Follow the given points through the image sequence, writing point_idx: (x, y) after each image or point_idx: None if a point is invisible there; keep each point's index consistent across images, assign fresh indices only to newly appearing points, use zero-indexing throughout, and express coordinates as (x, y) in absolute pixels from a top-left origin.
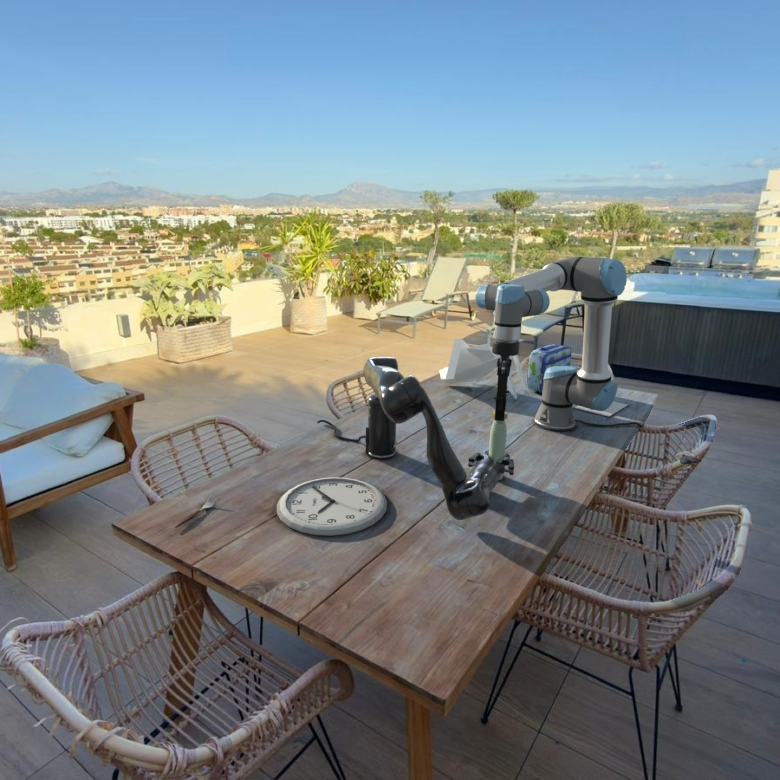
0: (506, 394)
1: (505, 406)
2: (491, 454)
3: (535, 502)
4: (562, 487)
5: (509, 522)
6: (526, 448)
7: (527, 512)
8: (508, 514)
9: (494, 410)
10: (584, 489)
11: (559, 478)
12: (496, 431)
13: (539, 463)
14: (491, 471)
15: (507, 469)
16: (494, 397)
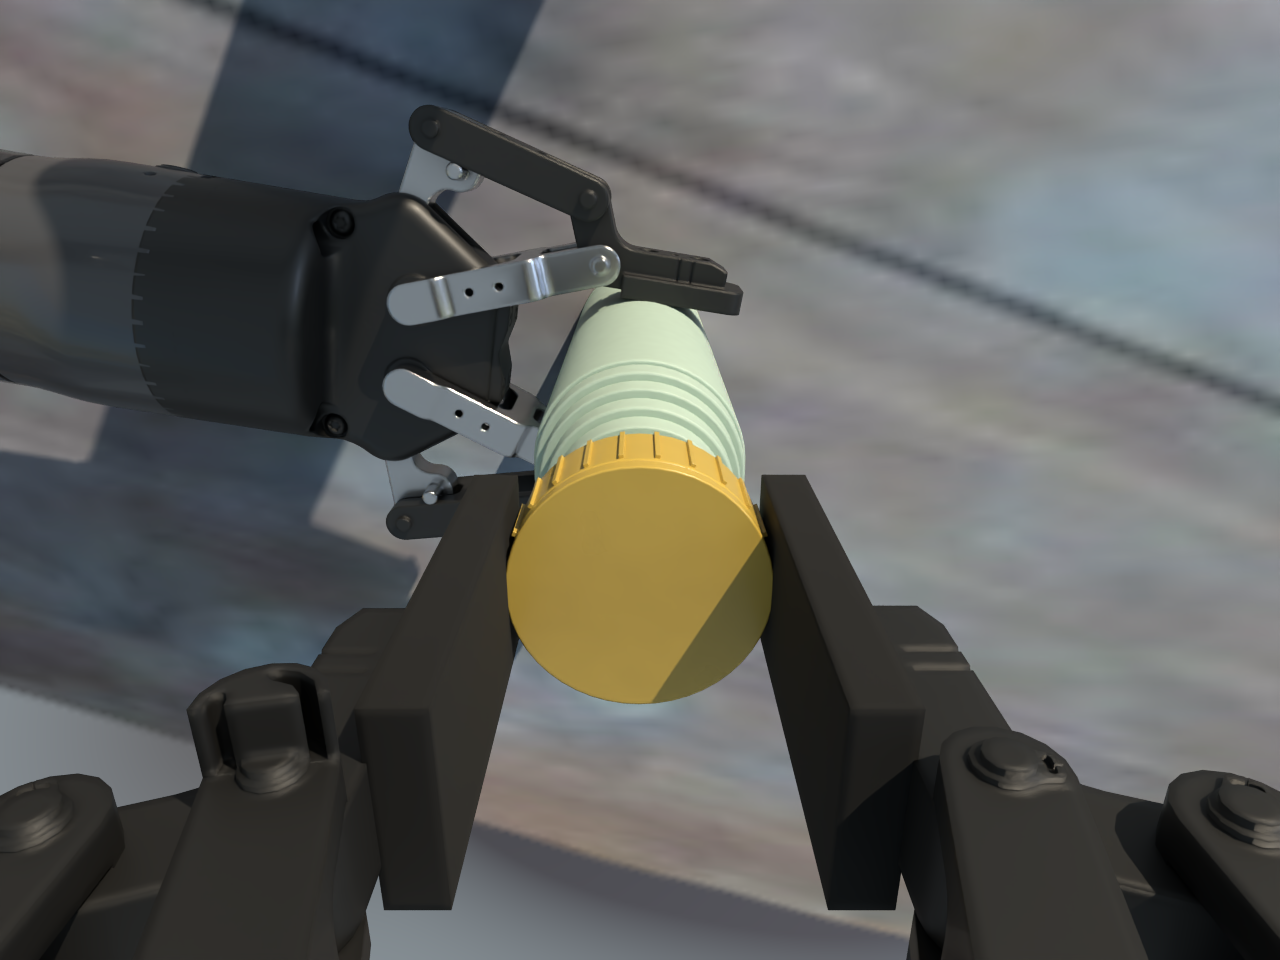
0: (866, 906)
1: (778, 705)
2: (576, 335)
3: (359, 599)
4: (616, 739)
5: (38, 463)
6: (1219, 536)
7: (213, 557)
8: (130, 453)
9: (688, 492)
10: (629, 838)
11: (738, 728)
12: (537, 449)
13: (948, 622)
14: (70, 381)
15: (389, 480)
16: (190, 721)
